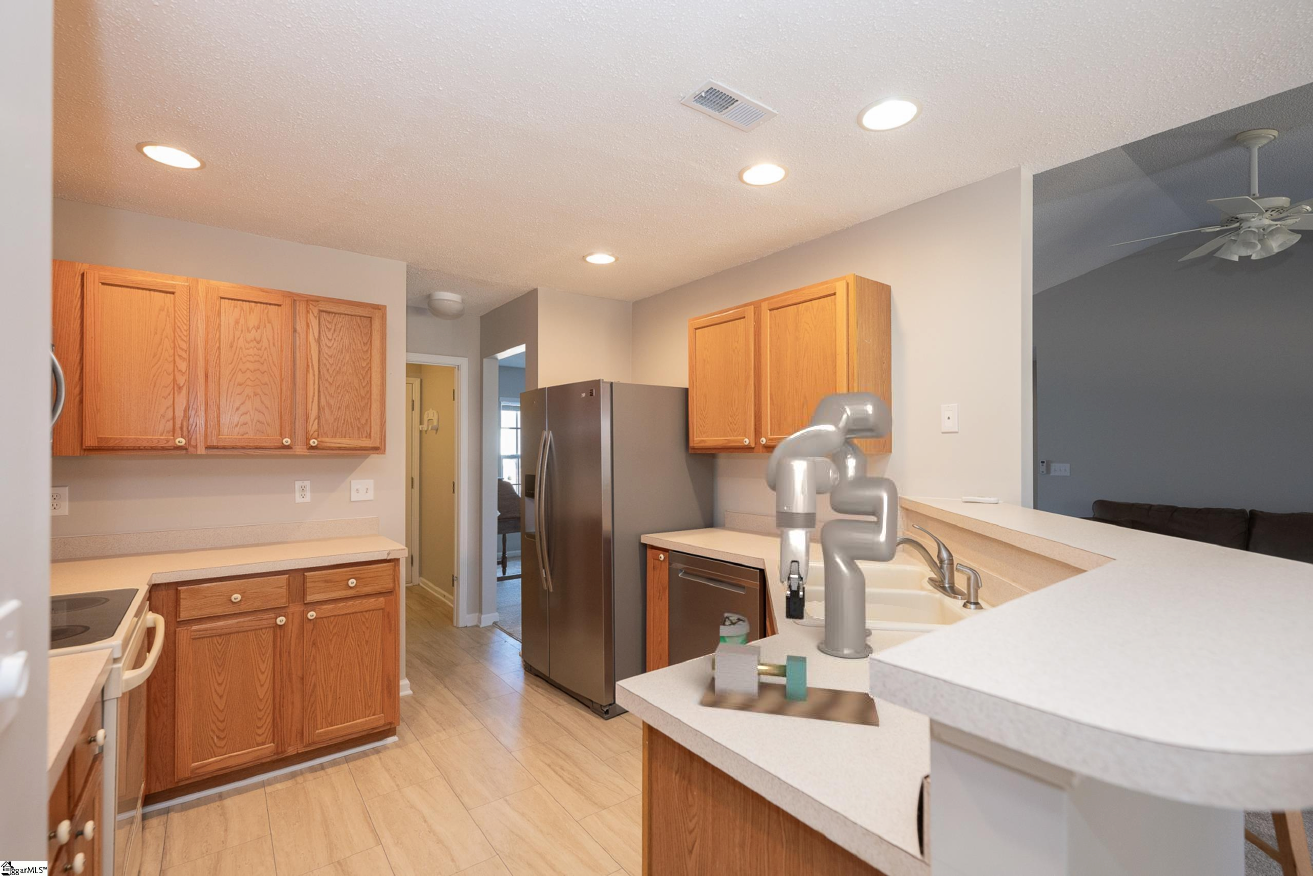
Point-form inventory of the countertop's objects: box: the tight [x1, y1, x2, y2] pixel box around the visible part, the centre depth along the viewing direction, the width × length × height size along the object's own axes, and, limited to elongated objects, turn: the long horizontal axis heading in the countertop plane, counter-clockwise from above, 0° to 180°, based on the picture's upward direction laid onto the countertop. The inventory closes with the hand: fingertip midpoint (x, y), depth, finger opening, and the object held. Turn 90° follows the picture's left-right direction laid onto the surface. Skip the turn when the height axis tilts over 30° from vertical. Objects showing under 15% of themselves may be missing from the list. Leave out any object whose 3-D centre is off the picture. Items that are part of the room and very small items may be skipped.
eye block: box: [714, 642, 761, 699], centre depth 114 cm, size 8×6×8 cm
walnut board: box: [701, 676, 880, 727], centre depth 112 cm, size 31×12×1 cm, turn 75°
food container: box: [719, 612, 751, 645], centre depth 133 cm, size 12×6×10 cm, turn 168°
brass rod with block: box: [711, 654, 808, 702], centre depth 113 cm, size 18×4×7 cm, turn 75°
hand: (795, 612), depth 112 cm, fingers open, 9 cm apart
